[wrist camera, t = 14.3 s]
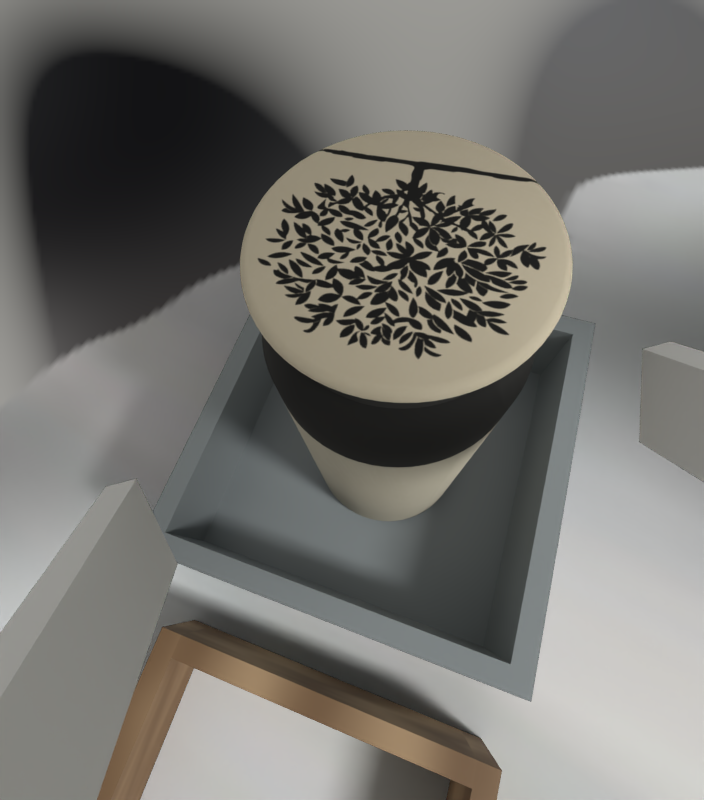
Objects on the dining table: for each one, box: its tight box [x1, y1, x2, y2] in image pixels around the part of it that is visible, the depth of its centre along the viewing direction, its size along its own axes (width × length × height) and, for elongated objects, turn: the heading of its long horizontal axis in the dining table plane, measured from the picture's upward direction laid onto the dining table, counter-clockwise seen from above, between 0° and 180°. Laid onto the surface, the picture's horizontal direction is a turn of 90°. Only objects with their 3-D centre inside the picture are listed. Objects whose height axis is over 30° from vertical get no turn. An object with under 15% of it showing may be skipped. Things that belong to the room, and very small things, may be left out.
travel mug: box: [240, 131, 573, 521], centre depth 18 cm, size 8×8×18 cm
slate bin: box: [153, 314, 595, 702], centre depth 25 cm, size 18×18×6 cm
